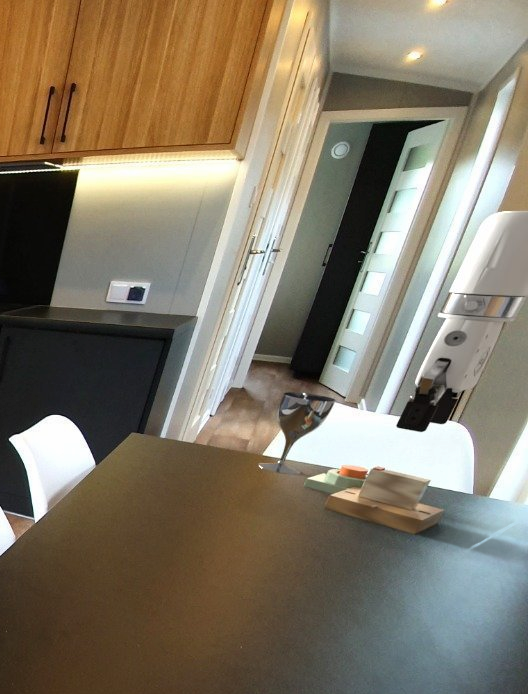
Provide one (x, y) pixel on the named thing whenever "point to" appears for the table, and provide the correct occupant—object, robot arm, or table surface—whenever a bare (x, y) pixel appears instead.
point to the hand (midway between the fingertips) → (420, 425)
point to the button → (353, 471)
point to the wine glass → (298, 422)
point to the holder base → (383, 511)
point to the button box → (333, 482)
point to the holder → (393, 488)
